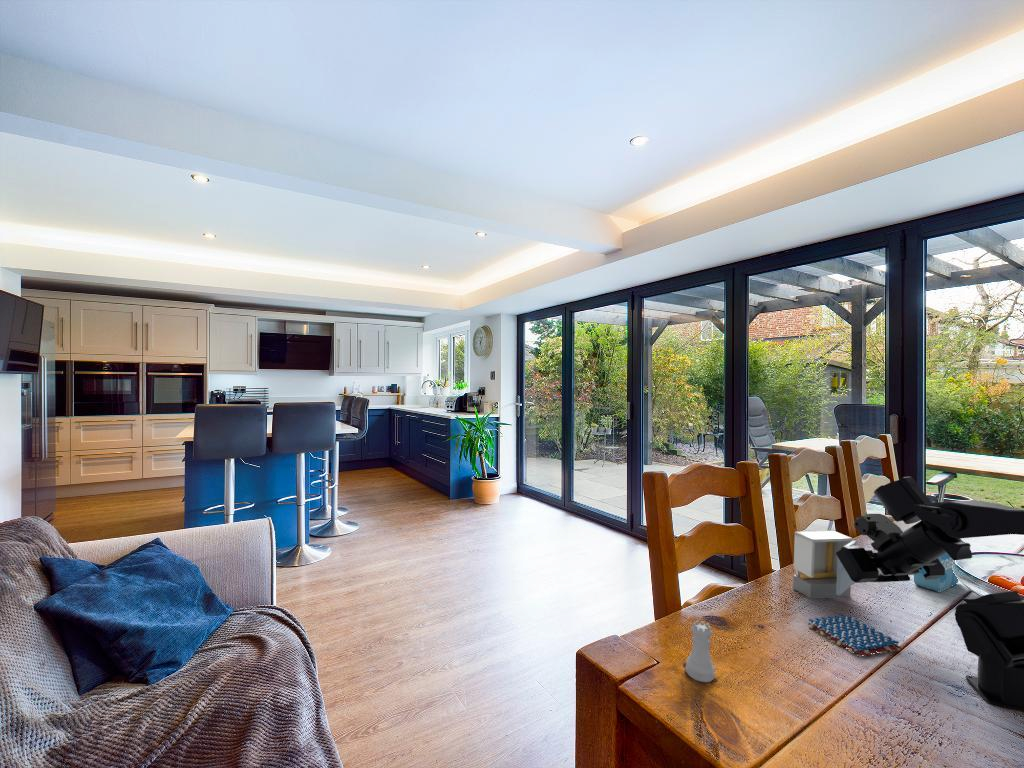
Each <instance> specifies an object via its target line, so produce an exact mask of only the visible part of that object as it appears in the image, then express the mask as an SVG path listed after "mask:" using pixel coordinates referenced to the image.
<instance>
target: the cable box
mask: <svg viewBox="0 0 1024 768" xmlns="http://www.w3.org/2000/svg"><path fill="white" fill-rule="evenodd" d="M851 541H853V537H851V536H848V535H845V534H843V533H841V532H838V531H836V530H812V531H811V530H808V531H807V530H806V531H805V530H804V531H803V530H801V531H794V545H793V546H794V547H793V550H794V551H793V569H794V570H795V574H793V575H792V589H794V590H795V591H797V592H799V593H800V594H802V595H804V596H805V597H807V598H808V599H811V600H812V599H824V598H825V599H827V598H830V599H831V598H843V597H845V598H846V597H848V598H849V597H851V591H852V590H851V589H852V588H851V587H852V586H850V587H849V588H848V589H847V590H846V591H844V592H843V593H842V594H841V595H837V594H836V584H837V557H838V556H837V555H836V550H838V549H839V548H840V547H842V546H845V545H847V544H848V543H850V542H851Z"/></svg>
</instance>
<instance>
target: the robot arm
mask: <svg viewBox="0 0 1024 768" xmlns="http://www.w3.org/2000/svg"><path fill="white" fill-rule="evenodd" d="M873 494H874V496H875V497H876V498H877V500H878V501H879V502H880V503H881V505H883V507H884V509H885V510H886V511H887V512H888V514H889V515H890V517H892V518H893V520H894V521H895V522H897V523H898V522H903V524H905V525H910V524H913V525H912V526H910V527H909V528H907V529H905V530H904V531H903V530H902V528H901V527H899V525H897V524H896V523H895V522H893V521H892V520H891V519H890V518H889V517H887V515H885V514H881V513H864V514H861V515H859V516H858V517H856V518H855V519H854V523H853V527H854V529H856V531H858V532H859V534H861V535H862V536H867V537H868V538H869V539H870V540H872V541H873V542H872V543H870V545H871V547H872V549H873V550H874V551H877V552H874V551H873V550H872V549H870V550H868V549H867V550H866V549H865V547H862V546H860V545H856V546H842V547H840V548H839V549H838V550H836V555H837V556H838V558H839V560H840V561H841V563H842V565H843V567H844V568H845V570H846V572H847V573H848V575H849V577H850V579H851V580H852V581H854V582H855V583H856V584H859V583H861V584H862V583H890V582H909V581H911V577H910V575H913V576H914V575H916V574H918V573H920V572H919V570H922V568H921V567H923V568H924V570H925V571H926V574H924V575H923V577H924V578H925V579H938V578H940V577H942V576H944V575H945V568H944V566H943V565H942V564H941V562H940V561H939V559H938V558H939V557H941V556H943V555H945V554H947V553H948V555H949V556H950V557H951V558H952V559H953V560H960V561H963V560H968V559H969V560H971V559H972V558H973V554H972V553H973V552H972V550H971V543H968V542H965V541H963V540H962V539H970V538H981V537H982V538H983V537H992V536H995V537H996V536H1007V535H1020V536H1021V535H1022V536H1024V508H1021V507H1015V506H1009V505H1006V504H1005V505H1004V504H1001V503H994V502H989V501H988V502H987V501H983V500H978V499H977V500H975V499H973V500H971V499H970V500H956V501H941V502H940V501H939V502H932V501H931V500H930V498H929V497H928V496H927V494H925V493H924V492H923V490H922V489H921V488H920V486H919V484H918V483H917V482H916V481H915V480H914V478H913V477H912V476H902V477H901V478H899V479H897V480H894V481H891V482H888V483H886V484H884V485H882V484H881V485H880V486H878V487H877V488H876V489H875V490H874V491H873ZM855 583H854V584H855ZM962 601H963V603H960V604H958V605H957V606H955V608H954V609H955V612H954V620H955V622H956V624H957V626H958V627H959V629H960V632H961V635H962V638H963V641H964V644H965V647H966V649H967V651H968V653H971V654H973V655H975V656H977V676H973V675H965V679H966V680H967V682H968V683H969V684H970V685H971V686H972V687H973V689H974V690H975V691H976V692H978V694H980V696H981V697H982V698H983V699H984V700H985V702H987V703H988V704H991V705H994V706H999V707H1003V708H1007V709H1011V710H1012V709H1013V710H1016V711H1017V710H1018V711H1022V712H1024V599H1021V596H1020V593H1019V592H1018V591H1017V589H1016V590H1009V591H1008V590H1007V591H1001V592H995V593H988V594H984V595H978V596H976V595H975V596H969V597H963V598H962Z"/></svg>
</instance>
